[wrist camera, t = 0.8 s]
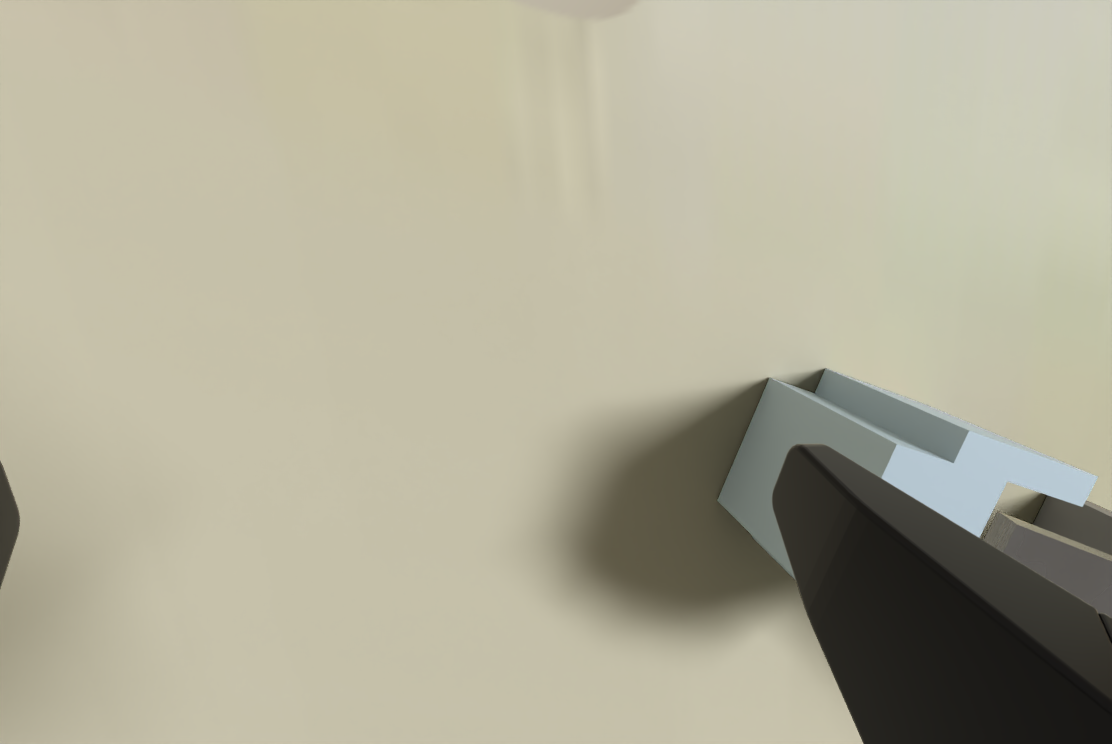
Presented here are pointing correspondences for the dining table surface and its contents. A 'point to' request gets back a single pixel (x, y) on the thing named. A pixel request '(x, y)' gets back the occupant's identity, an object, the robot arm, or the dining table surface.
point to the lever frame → (903, 461)
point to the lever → (1056, 559)
